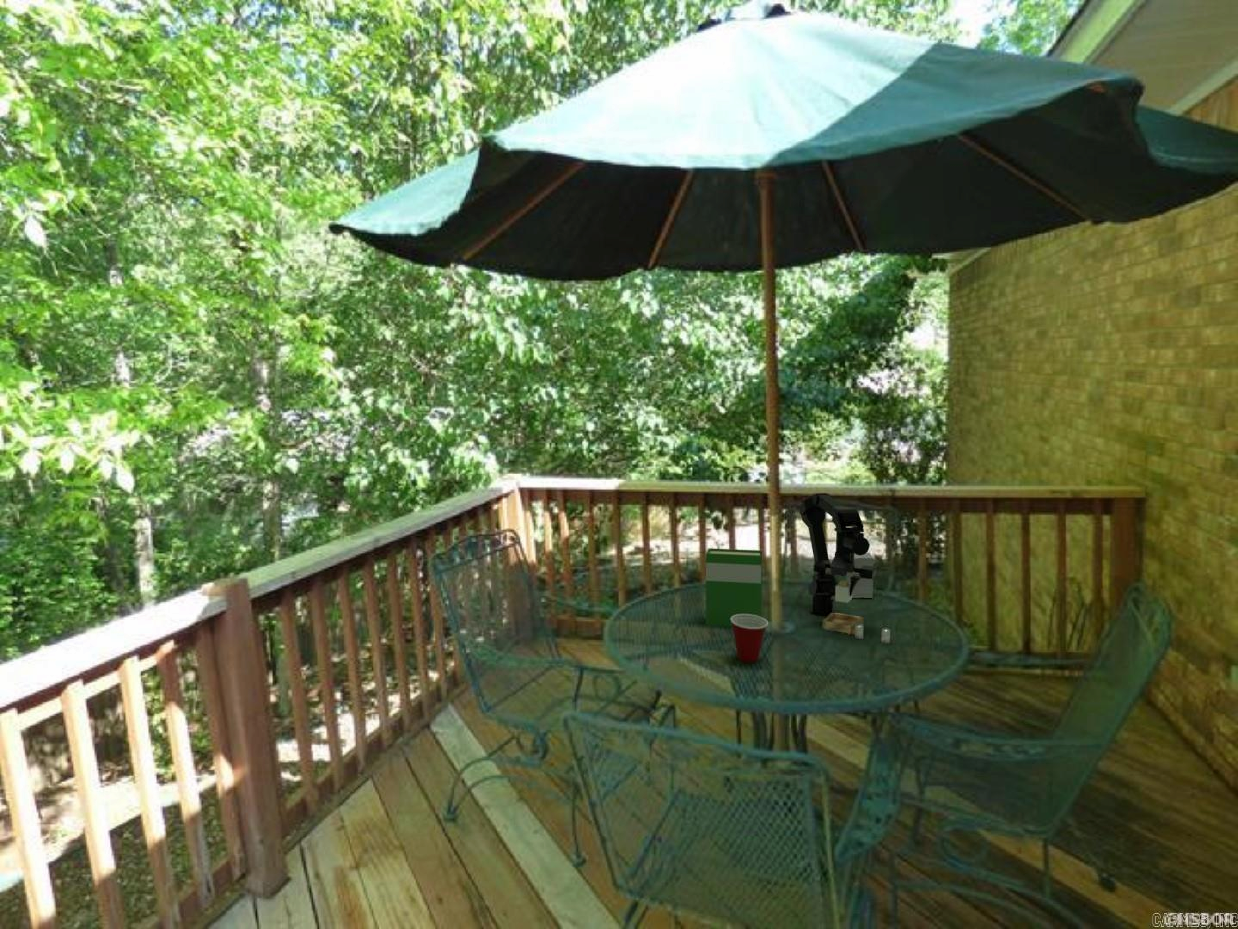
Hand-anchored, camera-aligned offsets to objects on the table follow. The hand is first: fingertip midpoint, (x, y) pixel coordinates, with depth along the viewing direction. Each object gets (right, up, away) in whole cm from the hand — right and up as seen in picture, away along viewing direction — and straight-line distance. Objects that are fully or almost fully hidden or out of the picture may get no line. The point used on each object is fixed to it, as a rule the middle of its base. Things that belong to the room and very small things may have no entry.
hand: (843, 595), depth 245 cm
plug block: (0, -2, 0) cm, 2 cm away
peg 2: (+9, -12, -12) cm, 20 cm away
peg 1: (+2, -12, -8) cm, 15 cm away
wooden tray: (0, -11, +1) cm, 11 cm away
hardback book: (-34, -11, +7) cm, 37 cm away
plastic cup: (-35, -15, -24) cm, 45 cm away
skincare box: (+15, -7, +33) cm, 37 cm away
